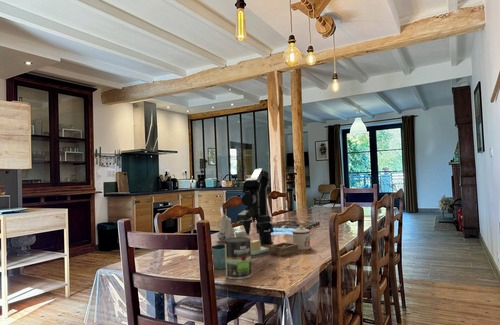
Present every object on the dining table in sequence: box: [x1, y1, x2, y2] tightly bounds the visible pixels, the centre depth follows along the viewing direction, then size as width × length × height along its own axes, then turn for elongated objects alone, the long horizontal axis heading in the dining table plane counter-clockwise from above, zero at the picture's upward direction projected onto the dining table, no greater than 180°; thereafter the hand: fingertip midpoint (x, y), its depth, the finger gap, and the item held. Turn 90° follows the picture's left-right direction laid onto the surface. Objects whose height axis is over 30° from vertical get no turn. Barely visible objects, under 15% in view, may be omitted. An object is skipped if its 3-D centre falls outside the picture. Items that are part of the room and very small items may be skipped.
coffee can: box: [223, 236, 253, 280], centre depth 131 cm, size 10×10×14 cm
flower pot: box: [211, 243, 226, 270], centre depth 144 cm, size 9×9×9 cm
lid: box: [250, 239, 270, 255], centre depth 166 cm, size 9×11×6 cm
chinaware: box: [216, 213, 249, 242], centre depth 206 cm, size 28×17×17 cm, turn 34°
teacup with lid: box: [291, 225, 311, 251], centre depth 175 cm, size 12×9×12 cm
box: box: [268, 241, 299, 258], centre depth 164 cm, size 9×11×4 cm
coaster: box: [251, 250, 271, 259], centre depth 166 cm, size 12×12×1 cm
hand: (254, 235), depth 166 cm, fingers open, 9 cm apart
